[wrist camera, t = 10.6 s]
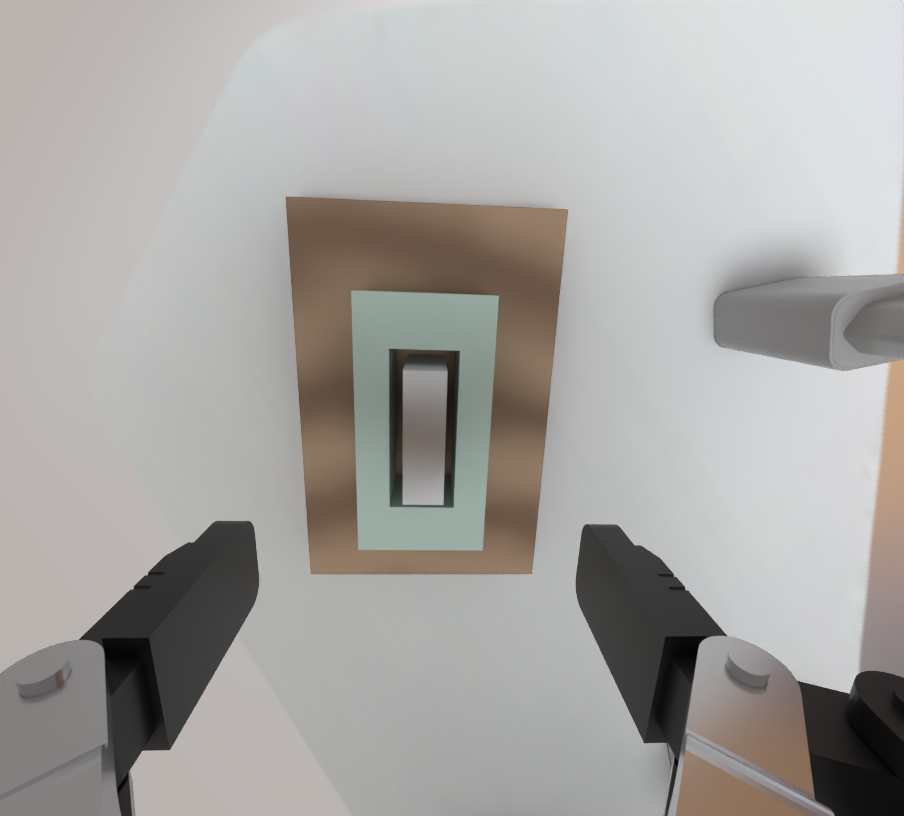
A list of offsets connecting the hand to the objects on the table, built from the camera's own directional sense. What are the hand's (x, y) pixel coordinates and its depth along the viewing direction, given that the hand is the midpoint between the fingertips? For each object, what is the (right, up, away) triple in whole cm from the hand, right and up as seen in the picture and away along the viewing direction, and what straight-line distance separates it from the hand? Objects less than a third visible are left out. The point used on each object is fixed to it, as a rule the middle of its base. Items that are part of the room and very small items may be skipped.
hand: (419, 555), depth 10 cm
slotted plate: (-1, +3, +12) cm, 12 cm away
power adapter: (+18, +9, +13) cm, 24 cm away
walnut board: (-1, +4, +14) cm, 14 cm away
